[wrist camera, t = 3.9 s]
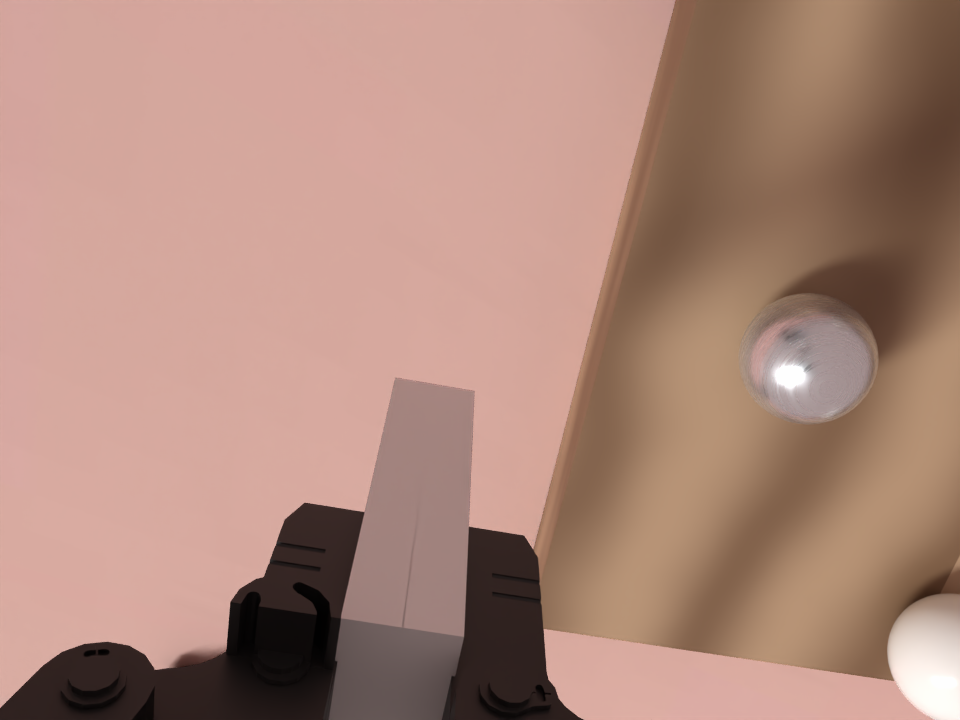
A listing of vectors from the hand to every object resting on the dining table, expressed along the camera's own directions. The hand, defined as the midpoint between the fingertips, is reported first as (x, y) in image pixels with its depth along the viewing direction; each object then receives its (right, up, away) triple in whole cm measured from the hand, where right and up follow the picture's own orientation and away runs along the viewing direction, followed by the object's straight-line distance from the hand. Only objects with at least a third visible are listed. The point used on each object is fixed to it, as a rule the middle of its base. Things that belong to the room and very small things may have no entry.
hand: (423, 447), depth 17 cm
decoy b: (+16, -8, +11) cm, 21 cm away
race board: (+16, +3, +11) cm, 19 cm away
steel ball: (+10, +2, +7) cm, 12 cm away
